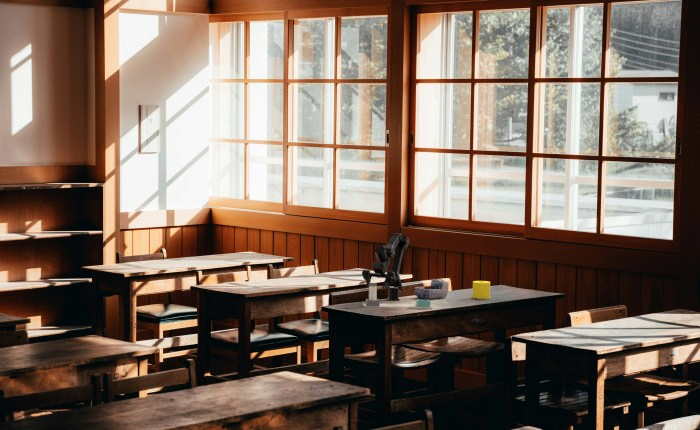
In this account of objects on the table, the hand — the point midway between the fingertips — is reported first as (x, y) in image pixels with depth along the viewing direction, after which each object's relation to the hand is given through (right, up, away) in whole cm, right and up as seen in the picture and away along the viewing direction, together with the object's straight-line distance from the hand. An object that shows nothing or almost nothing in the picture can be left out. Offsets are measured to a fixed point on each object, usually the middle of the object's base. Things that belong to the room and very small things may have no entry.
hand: (374, 287), depth 576 cm
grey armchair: (+34, -9, +40) cm, 53 cm away
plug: (-1, -9, -2) cm, 10 cm away
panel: (+12, -11, 0) cm, 16 cm away
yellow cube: (+63, -9, +44) cm, 78 cm away
